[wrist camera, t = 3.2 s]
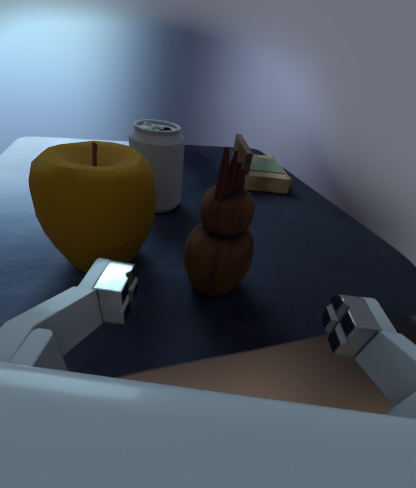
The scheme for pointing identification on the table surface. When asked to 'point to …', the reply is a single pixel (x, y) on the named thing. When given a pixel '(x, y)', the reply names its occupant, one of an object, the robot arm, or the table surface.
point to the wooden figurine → (222, 233)
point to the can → (161, 158)
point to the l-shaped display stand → (261, 170)
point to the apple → (93, 200)
